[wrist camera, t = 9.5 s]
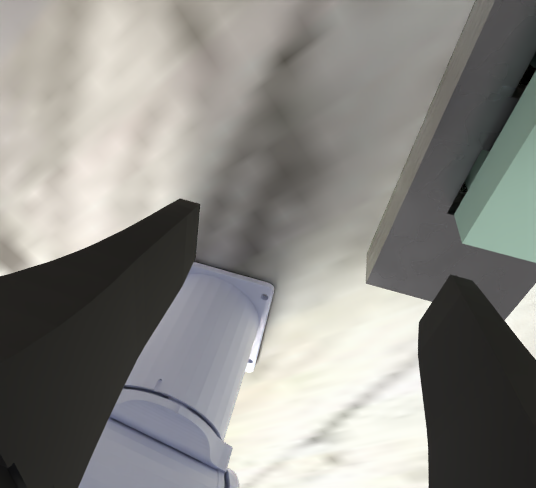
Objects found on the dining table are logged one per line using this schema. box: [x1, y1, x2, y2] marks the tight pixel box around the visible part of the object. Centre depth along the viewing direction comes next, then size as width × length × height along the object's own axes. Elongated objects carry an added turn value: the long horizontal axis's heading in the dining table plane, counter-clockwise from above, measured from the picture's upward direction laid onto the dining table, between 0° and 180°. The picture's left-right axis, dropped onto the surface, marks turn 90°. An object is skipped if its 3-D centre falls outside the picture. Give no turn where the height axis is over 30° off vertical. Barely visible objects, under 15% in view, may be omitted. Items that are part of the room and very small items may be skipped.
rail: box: [366, 0, 536, 320], centre depth 15 cm, size 18×7×2 cm, turn 170°
